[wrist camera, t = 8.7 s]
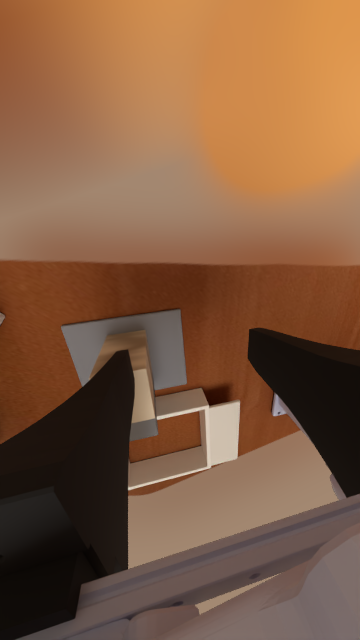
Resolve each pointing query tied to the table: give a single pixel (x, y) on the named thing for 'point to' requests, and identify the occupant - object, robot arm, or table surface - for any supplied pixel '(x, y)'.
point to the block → (144, 382)
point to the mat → (158, 327)
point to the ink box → (1, 318)
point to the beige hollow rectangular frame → (215, 447)
